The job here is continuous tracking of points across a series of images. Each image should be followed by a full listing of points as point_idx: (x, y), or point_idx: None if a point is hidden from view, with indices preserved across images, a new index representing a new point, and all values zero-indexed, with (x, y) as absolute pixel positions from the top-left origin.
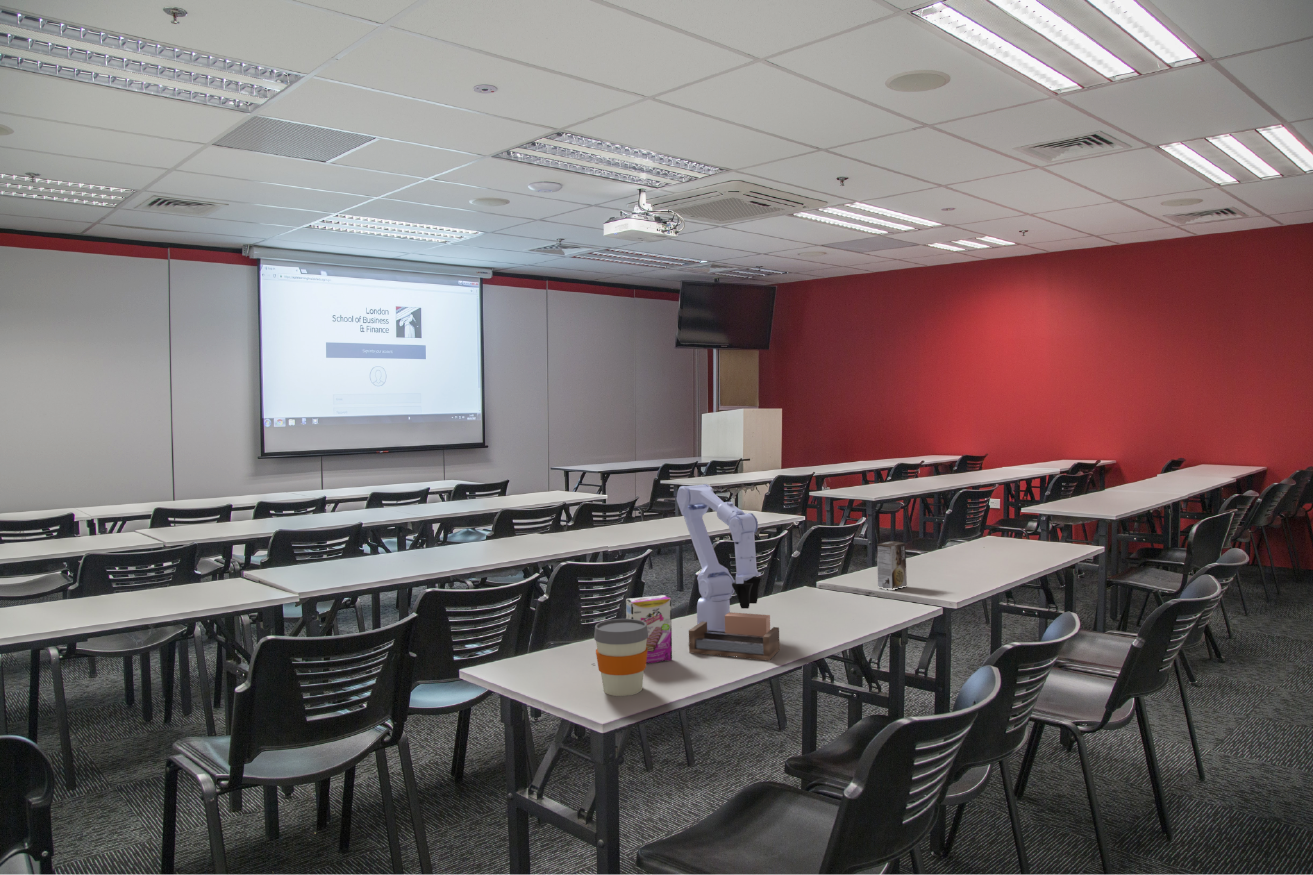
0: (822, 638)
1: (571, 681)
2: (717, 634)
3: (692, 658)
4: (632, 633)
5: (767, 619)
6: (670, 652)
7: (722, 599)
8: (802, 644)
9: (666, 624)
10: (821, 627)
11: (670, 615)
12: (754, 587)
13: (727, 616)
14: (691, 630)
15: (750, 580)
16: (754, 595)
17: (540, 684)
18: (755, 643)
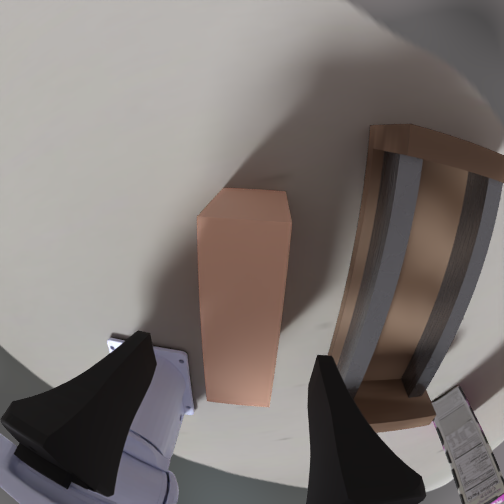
0: (158, 4)
1: (499, 427)
2: (366, 369)
3: (453, 358)
4: None
5: (259, 216)
6: (465, 397)
7: (141, 441)
8: (266, 46)
9: (490, 447)
10: (35, 68)
11: (495, 460)
12: (102, 416)
13: (270, 396)
14: (431, 420)
15: (92, 472)
16: (128, 375)
17: (496, 439)
18: (484, 218)
